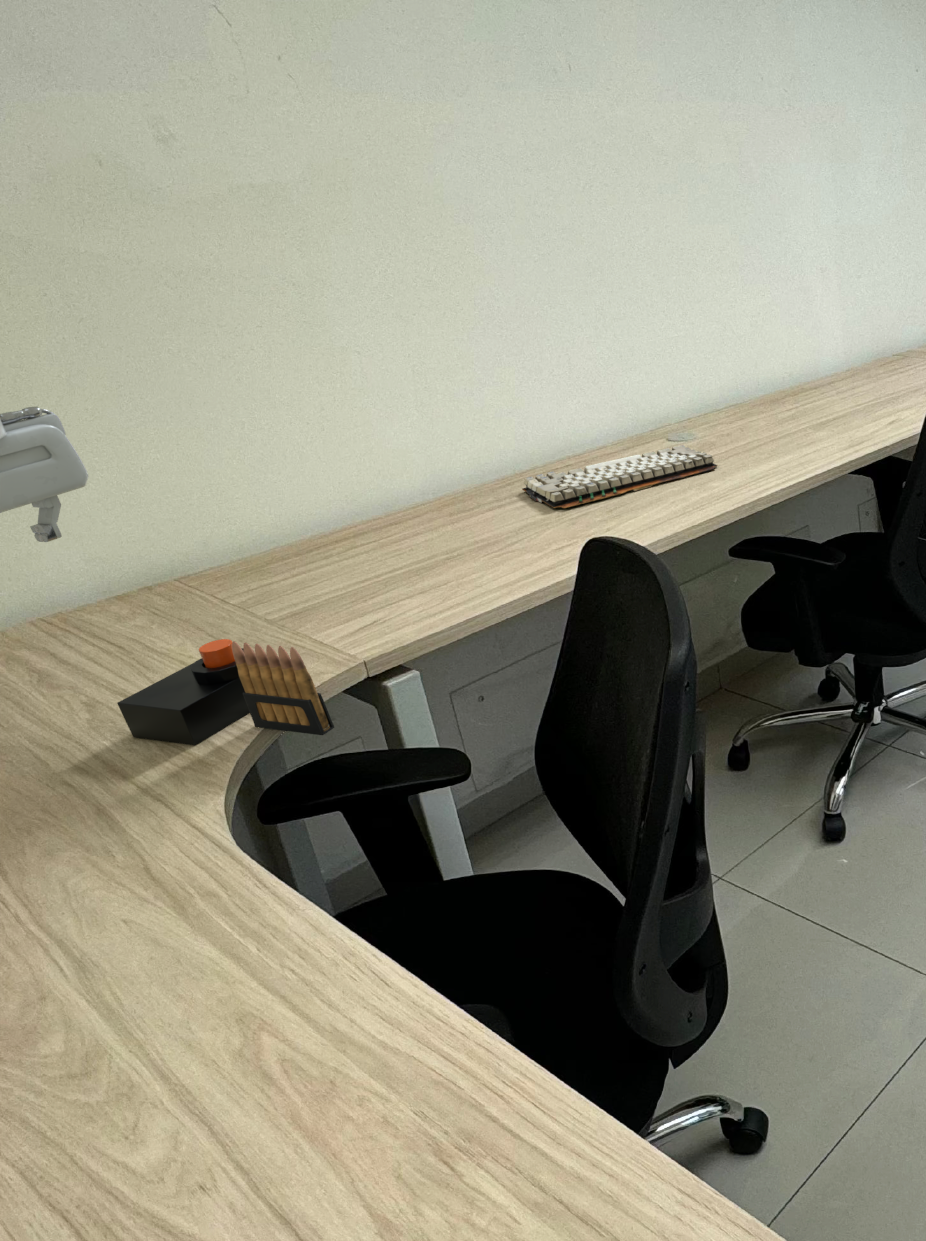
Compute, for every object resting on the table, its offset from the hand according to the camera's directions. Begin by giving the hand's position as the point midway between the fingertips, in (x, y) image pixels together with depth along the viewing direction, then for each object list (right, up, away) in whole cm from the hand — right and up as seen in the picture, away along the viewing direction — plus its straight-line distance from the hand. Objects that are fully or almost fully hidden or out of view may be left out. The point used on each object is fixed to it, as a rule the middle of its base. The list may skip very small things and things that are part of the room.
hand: (2, 556), depth 103 cm
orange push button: (+5, -13, +24) cm, 28 cm away
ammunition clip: (+16, -21, +22) cm, 34 cm away
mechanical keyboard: (+27, +21, +109) cm, 115 cm away
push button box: (+2, -20, +25) cm, 32 cm away
